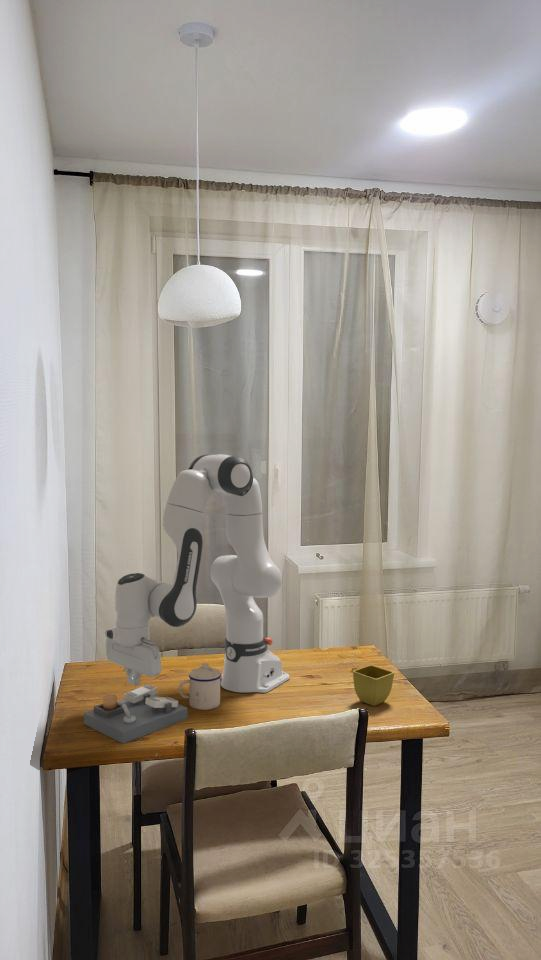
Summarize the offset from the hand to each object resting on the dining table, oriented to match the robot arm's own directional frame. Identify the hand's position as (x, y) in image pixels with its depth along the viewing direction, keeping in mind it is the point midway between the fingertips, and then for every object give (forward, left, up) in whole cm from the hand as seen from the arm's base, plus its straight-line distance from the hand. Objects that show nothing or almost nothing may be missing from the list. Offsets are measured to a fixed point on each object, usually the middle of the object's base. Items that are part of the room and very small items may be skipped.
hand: (133, 684), depth 198 cm
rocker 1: (-2, 0, -3) cm, 4 cm away
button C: (+8, 0, -4) cm, 9 cm away
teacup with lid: (-17, +8, -9) cm, 20 cm away
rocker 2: (-2, +9, -3) cm, 10 cm away
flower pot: (-53, +42, -9) cm, 68 cm away
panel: (+3, +4, -8) cm, 10 cm away
